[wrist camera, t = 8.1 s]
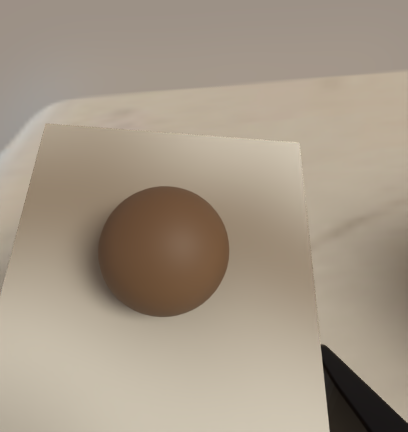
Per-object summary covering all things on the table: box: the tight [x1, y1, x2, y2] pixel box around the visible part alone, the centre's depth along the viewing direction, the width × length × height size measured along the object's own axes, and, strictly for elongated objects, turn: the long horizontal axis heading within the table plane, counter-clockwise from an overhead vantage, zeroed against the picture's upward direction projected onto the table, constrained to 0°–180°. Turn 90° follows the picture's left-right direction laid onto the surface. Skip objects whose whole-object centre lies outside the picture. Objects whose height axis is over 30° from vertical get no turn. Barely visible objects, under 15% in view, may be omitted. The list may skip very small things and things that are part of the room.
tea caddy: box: [0, 124, 330, 432], centre depth 11 cm, size 5×5×15 cm
